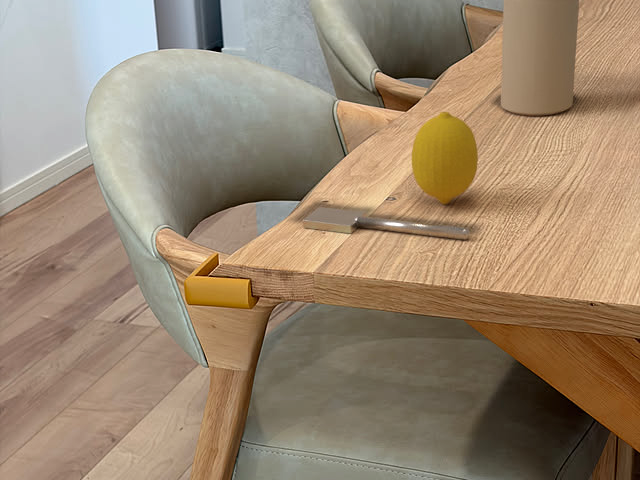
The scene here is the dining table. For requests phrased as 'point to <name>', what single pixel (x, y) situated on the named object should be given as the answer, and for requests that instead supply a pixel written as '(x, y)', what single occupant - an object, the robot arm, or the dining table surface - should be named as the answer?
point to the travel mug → (538, 56)
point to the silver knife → (375, 224)
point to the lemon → (444, 157)
